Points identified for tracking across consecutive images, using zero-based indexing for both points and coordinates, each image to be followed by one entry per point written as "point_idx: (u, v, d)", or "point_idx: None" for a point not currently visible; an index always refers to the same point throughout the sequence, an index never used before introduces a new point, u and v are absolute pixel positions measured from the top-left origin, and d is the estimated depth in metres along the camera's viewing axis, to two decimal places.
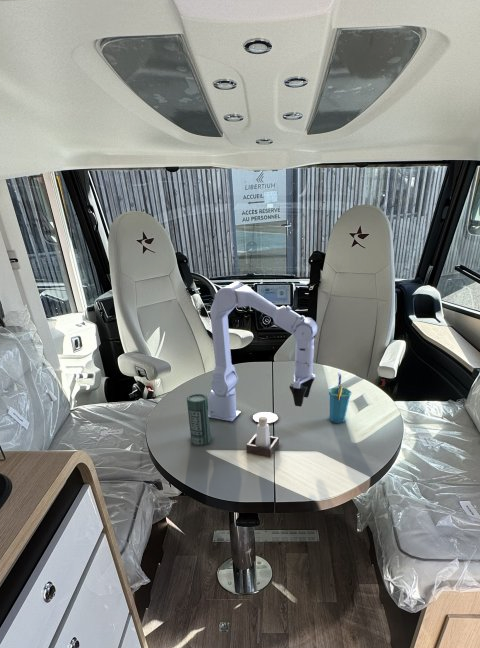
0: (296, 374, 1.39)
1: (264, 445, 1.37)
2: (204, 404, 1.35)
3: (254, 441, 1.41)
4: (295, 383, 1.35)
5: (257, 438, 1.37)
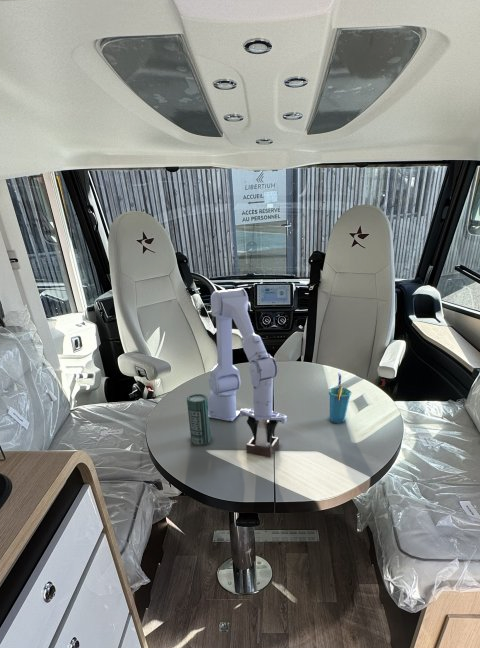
0: None
1: (264, 445, 1.37)
2: (204, 404, 1.35)
3: (254, 441, 1.41)
4: None
5: (257, 438, 1.37)
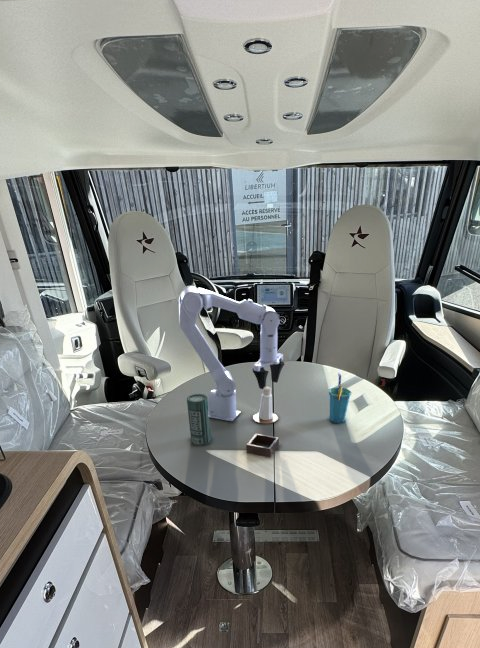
0: (260, 358, 1.50)
1: (267, 413, 1.54)
2: (204, 404, 1.35)
3: (254, 441, 1.41)
4: (255, 366, 1.46)
5: (261, 406, 1.54)
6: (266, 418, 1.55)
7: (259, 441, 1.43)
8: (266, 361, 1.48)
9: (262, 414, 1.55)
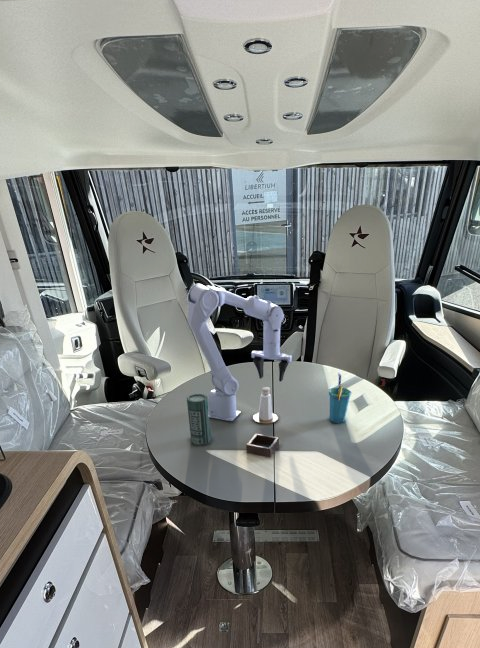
0: (276, 354, 1.53)
1: (267, 413, 1.55)
2: (204, 404, 1.35)
3: (254, 441, 1.41)
4: (290, 357, 1.53)
5: (260, 406, 1.54)
6: (266, 418, 1.56)
7: (259, 441, 1.43)
8: (279, 353, 1.55)
9: (262, 414, 1.55)
